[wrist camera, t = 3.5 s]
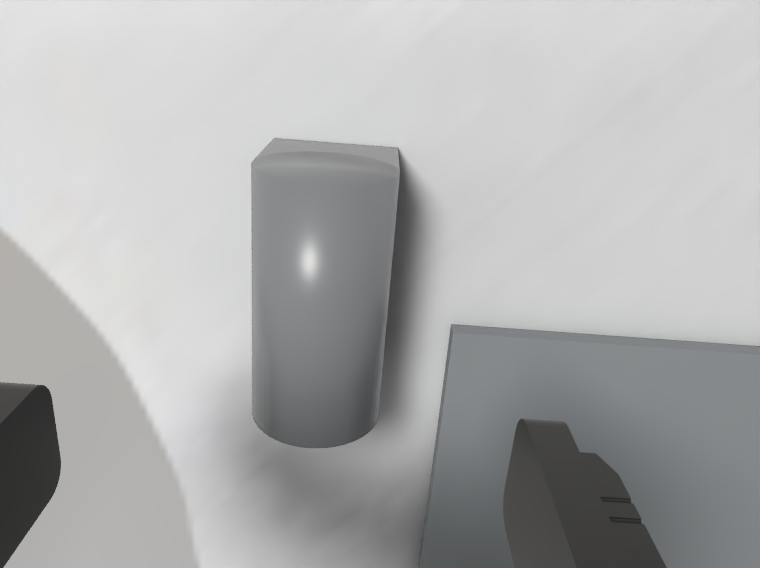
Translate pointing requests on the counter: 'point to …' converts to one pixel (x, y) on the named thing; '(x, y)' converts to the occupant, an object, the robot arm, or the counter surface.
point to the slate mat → (601, 438)
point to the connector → (320, 287)
